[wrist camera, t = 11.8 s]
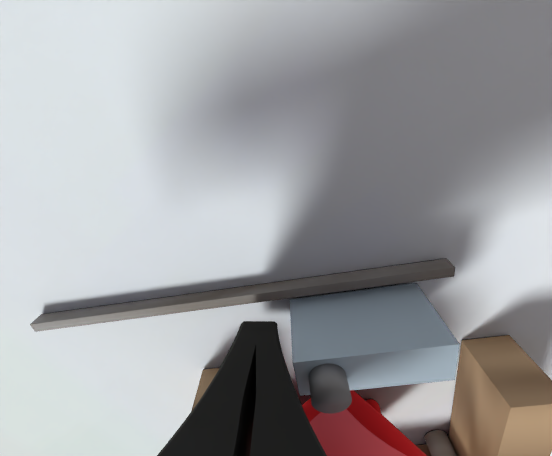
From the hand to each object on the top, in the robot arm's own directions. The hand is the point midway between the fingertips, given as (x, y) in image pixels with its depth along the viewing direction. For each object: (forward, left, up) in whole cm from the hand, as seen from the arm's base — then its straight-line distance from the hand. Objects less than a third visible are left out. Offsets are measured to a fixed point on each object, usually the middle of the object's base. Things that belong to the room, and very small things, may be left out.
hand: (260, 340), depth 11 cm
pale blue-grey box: (0, +4, -1) cm, 4 cm away
